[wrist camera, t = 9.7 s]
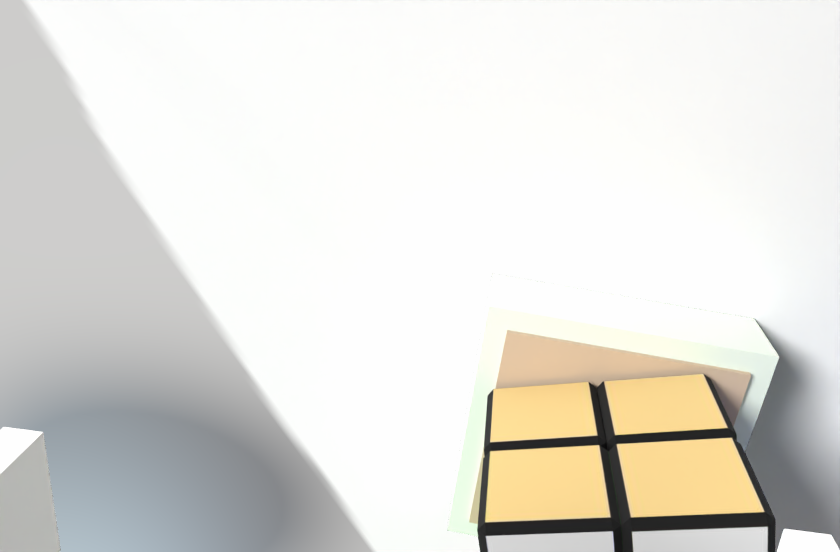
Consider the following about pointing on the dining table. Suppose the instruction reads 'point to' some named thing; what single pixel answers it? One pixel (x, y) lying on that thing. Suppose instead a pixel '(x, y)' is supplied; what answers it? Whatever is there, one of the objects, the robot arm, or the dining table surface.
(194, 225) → the dining table surface
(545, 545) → the puzzle cube
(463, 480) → the plinth
